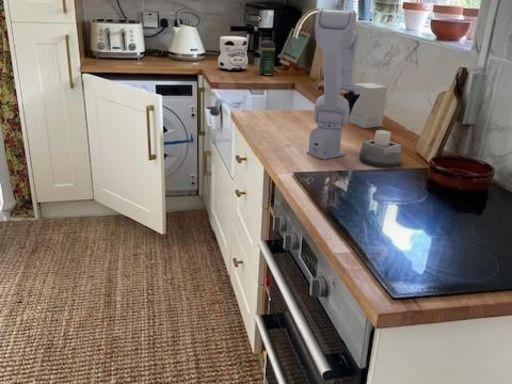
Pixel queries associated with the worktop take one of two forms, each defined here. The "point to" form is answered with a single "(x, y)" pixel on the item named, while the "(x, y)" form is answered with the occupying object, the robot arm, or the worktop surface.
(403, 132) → the worktop surface
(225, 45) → the milk container
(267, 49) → the coffee jar
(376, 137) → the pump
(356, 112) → the supplement box
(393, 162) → the square tube on disc
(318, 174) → the worktop surface
